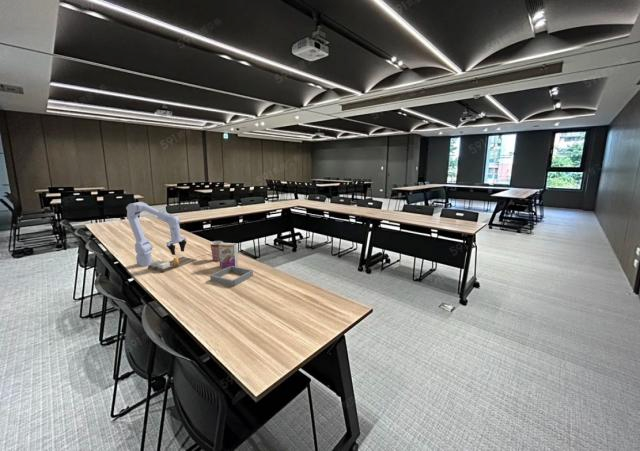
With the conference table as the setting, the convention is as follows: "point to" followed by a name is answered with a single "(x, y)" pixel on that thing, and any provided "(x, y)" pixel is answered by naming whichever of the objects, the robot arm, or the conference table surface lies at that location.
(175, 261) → the orange mallet
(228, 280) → the desk tray rim
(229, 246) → the candy bar box
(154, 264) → the grey block
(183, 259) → the lane rack
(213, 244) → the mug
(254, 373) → the conference table surface
